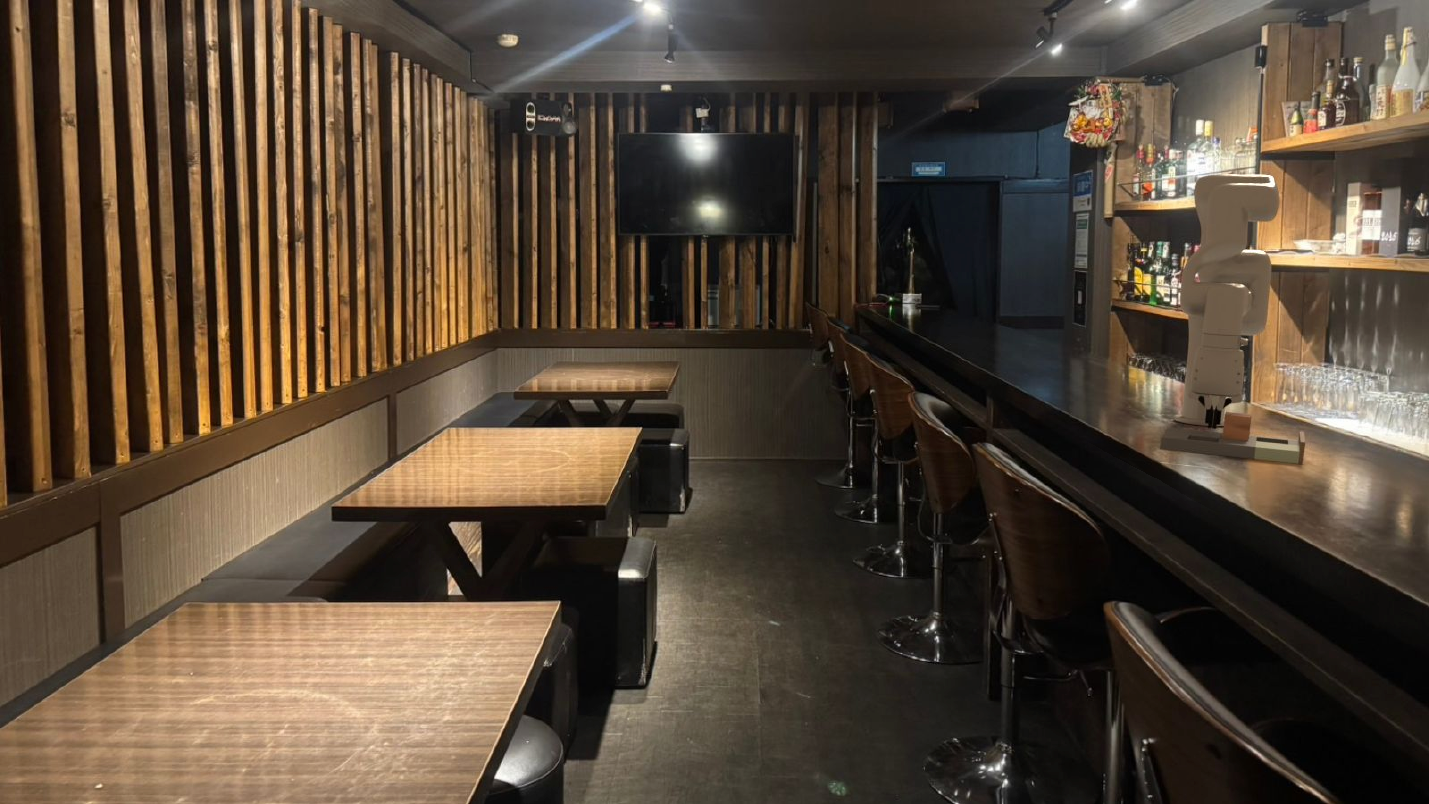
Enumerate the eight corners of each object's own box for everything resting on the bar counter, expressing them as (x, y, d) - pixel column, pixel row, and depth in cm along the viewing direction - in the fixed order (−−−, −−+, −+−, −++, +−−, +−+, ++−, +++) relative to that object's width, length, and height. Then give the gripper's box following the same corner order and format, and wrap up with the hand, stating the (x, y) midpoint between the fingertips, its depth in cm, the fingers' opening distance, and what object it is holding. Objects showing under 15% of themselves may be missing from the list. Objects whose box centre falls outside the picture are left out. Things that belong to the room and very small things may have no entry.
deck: (1166, 438, 248) (1168, 418, 247) (1301, 452, 236) (1303, 431, 235) (1159, 448, 234) (1161, 427, 234) (1302, 464, 223) (1305, 442, 222)
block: (1223, 434, 240) (1226, 411, 240) (1249, 437, 238) (1251, 414, 237) (1222, 437, 236) (1224, 414, 235) (1248, 440, 234) (1250, 417, 233)
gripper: (1260, 344, 237) (1250, 429, 239) (1184, 339, 243) (1176, 421, 246) (1259, 346, 230) (1249, 433, 233) (1181, 341, 237) (1173, 426, 239)
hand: (1212, 427), depth 239 cm, fingers closed
